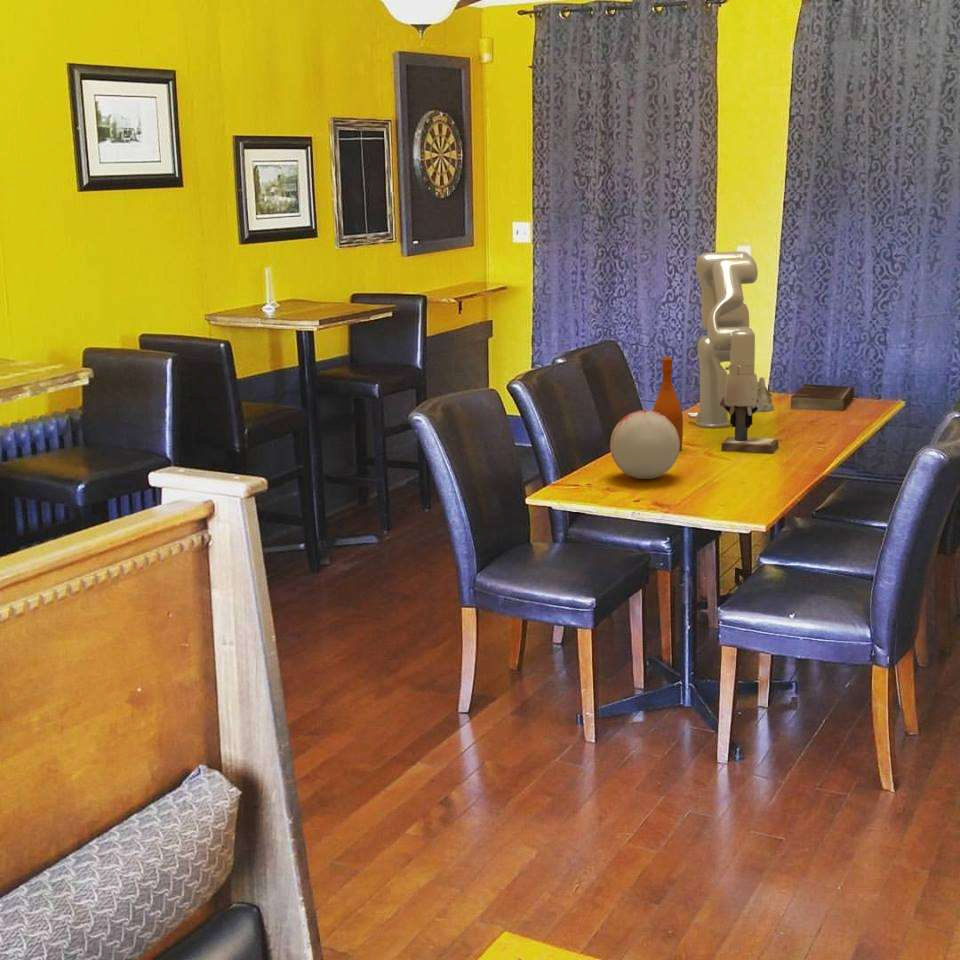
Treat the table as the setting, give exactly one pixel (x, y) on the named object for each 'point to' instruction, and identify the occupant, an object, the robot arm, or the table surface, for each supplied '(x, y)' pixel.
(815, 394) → the hardback book
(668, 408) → the wine bottle
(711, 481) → the table surface
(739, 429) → the marker
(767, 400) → the miniature castle
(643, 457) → the decorative orb
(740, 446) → the picture frame
